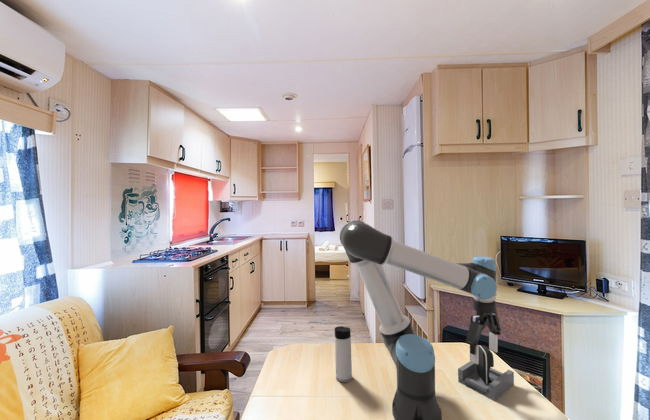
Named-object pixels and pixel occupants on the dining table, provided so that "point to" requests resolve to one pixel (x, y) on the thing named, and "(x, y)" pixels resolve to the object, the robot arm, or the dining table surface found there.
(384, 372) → the dining table surface
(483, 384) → the cradle
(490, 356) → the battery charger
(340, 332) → the travel mug
